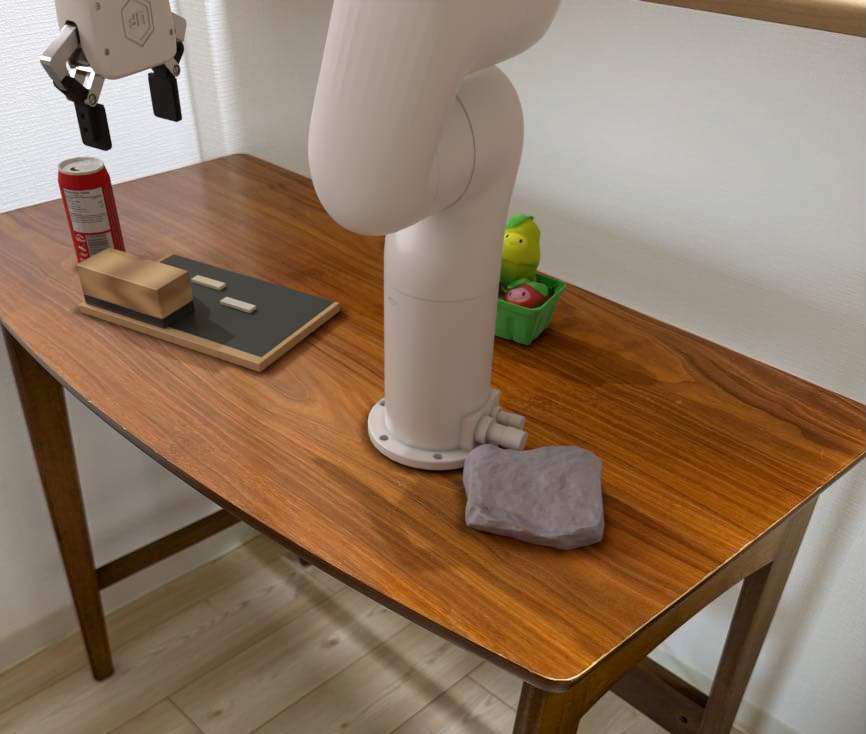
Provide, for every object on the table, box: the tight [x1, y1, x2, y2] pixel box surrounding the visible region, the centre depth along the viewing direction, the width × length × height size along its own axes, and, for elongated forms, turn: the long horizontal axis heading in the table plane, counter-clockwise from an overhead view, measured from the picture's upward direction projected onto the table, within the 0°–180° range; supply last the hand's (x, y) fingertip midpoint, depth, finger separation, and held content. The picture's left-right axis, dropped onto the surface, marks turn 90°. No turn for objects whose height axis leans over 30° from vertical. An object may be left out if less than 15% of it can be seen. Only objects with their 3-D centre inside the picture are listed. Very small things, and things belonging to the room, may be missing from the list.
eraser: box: [75, 248, 195, 329], centre depth 97 cm, size 11×5×4 cm, turn 62°
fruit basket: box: [494, 213, 567, 346], centre depth 96 cm, size 11×9×11 cm
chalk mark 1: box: [191, 275, 226, 290], centre depth 102 cm, size 4×1×1 cm, turn 62°
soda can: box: [57, 156, 127, 264], centre depth 103 cm, size 6×6×12 cm
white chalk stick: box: [220, 297, 256, 313], centre depth 99 cm, size 4×1×1 cm, turn 62°
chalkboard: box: [78, 253, 341, 373], centre depth 99 cm, size 24×15×1 cm, turn 62°
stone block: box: [462, 444, 605, 551], centre depth 75 cm, size 12×5×10 cm
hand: (134, 132), depth 87 cm, fingers open, 9 cm apart
